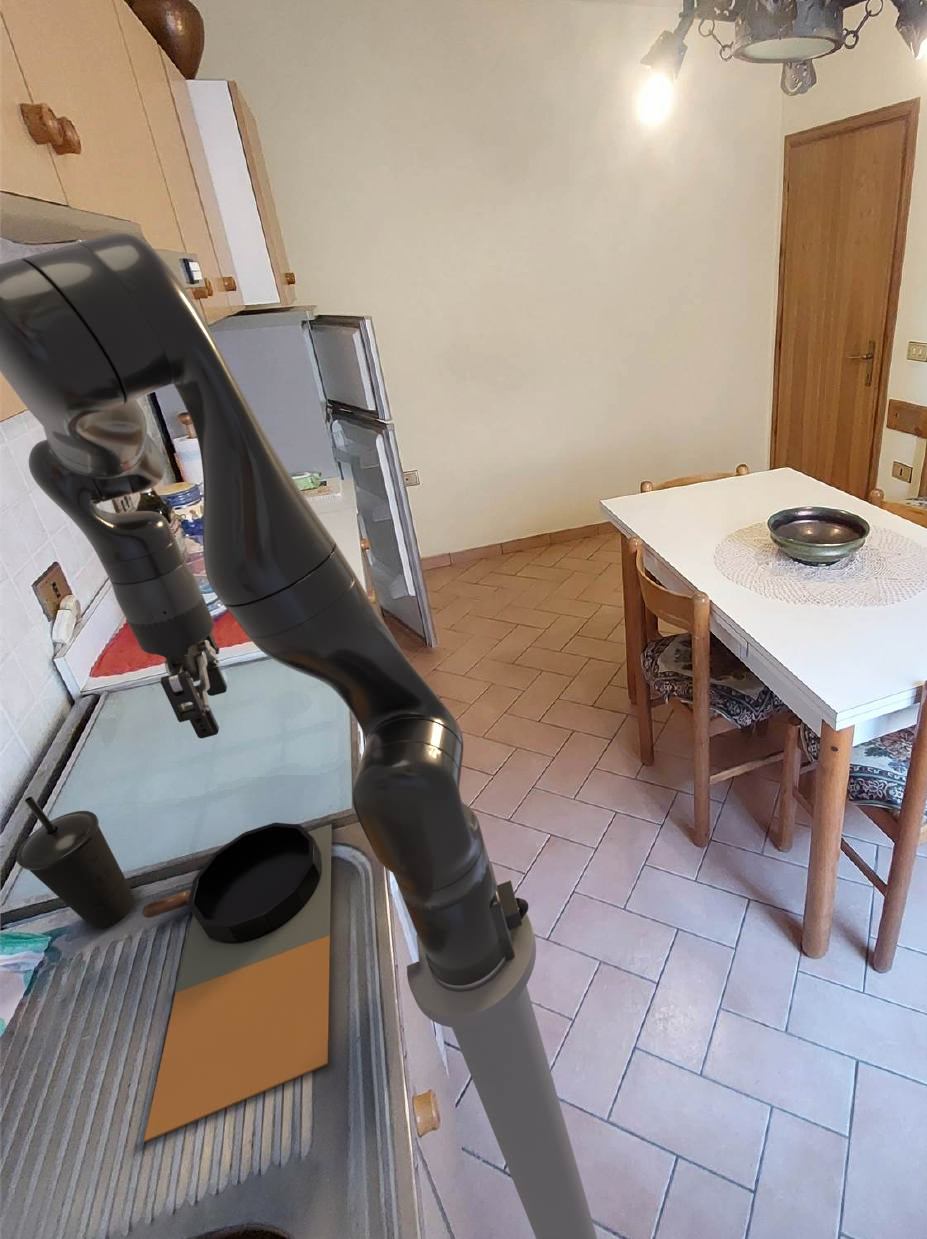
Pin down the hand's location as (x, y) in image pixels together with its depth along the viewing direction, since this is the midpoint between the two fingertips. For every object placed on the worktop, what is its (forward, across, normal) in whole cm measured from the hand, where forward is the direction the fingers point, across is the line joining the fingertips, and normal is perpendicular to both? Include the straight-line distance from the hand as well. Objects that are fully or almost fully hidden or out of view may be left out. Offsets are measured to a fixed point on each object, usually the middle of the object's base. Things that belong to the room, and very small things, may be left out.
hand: (214, 712), depth 82 cm
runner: (+20, -20, 0) cm, 28 cm away
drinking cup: (+21, -6, +17) cm, 28 cm away
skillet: (+20, -11, +2) cm, 23 cm away
